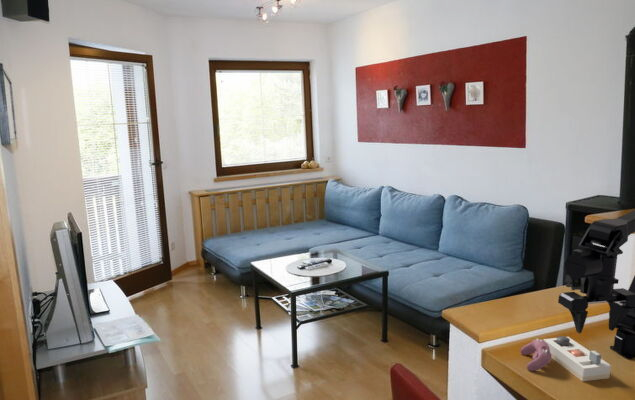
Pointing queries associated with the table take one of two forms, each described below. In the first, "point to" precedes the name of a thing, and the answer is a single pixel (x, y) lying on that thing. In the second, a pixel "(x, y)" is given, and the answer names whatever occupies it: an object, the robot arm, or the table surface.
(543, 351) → the video game controller
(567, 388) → the table surface
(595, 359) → the slide switch
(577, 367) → the switch panel
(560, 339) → the black button
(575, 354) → the salmon orange button
